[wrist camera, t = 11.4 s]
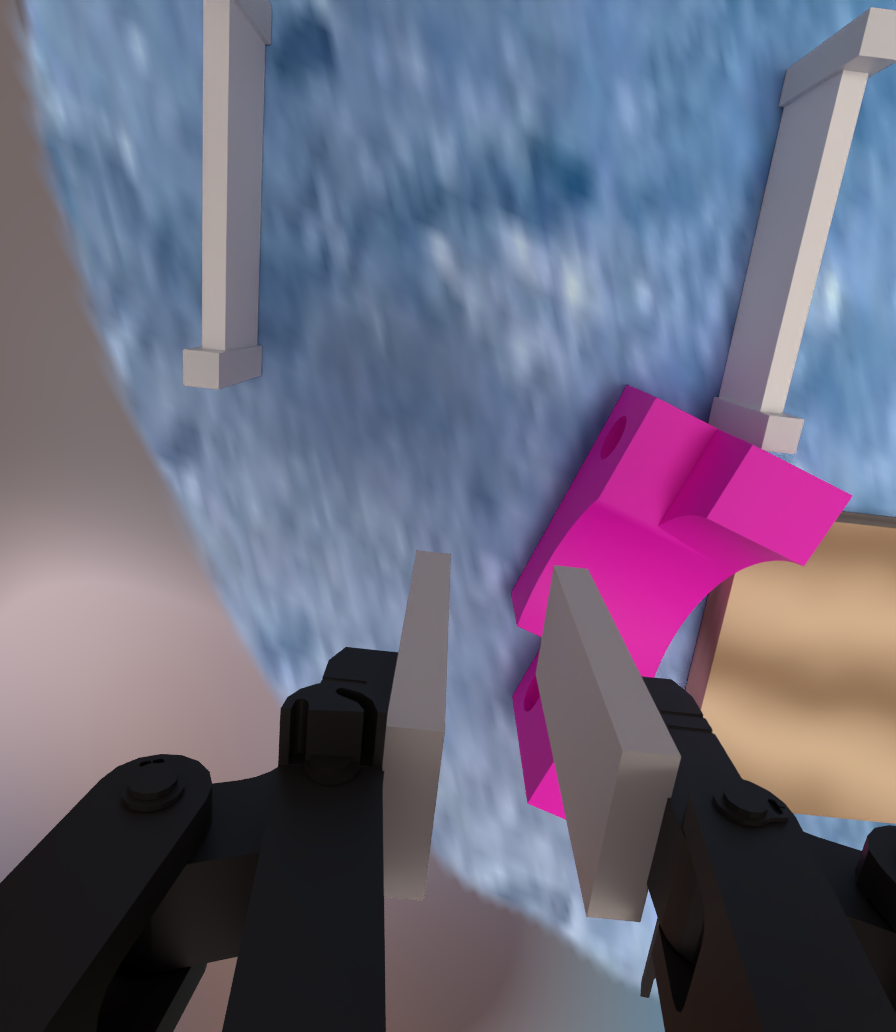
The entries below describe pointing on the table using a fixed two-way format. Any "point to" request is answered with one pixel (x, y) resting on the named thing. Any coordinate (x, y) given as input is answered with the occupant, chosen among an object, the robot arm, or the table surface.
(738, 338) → the grey bracket pieces
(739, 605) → the board
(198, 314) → the table surface
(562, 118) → the table surface
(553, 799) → the toy block
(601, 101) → the table surface
